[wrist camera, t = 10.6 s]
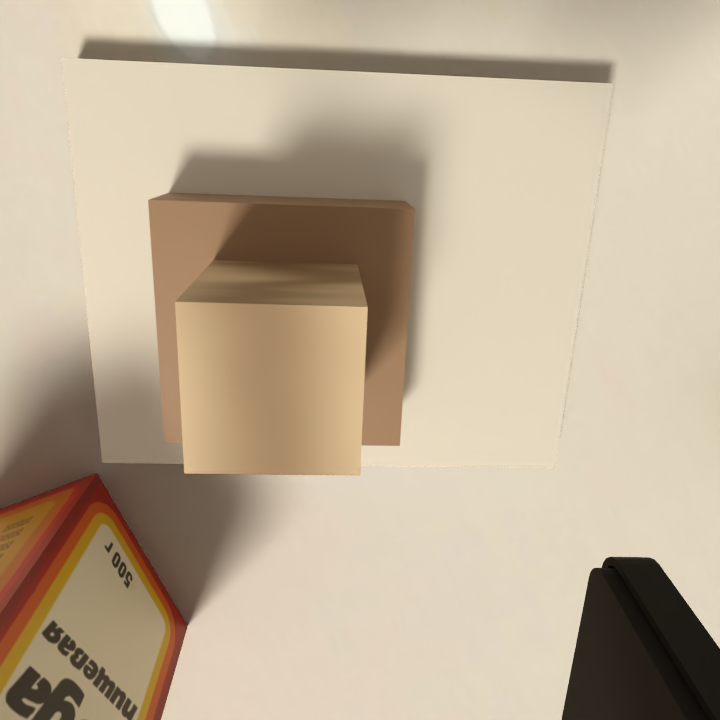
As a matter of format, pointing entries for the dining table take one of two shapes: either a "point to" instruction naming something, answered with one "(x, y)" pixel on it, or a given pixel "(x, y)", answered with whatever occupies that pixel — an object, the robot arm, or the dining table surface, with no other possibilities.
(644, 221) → the dining table surface
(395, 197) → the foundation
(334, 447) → the oak block
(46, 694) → the baking soda box
